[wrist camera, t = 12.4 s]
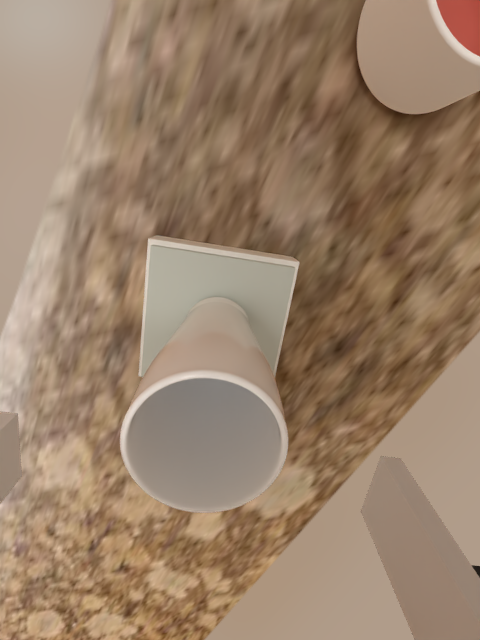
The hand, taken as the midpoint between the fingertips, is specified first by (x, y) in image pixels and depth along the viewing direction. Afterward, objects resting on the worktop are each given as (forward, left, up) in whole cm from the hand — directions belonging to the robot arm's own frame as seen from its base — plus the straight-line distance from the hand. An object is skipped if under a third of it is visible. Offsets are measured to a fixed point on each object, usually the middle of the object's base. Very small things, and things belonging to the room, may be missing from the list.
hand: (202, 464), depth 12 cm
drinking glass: (0, 0, -16) cm, 16 cm away
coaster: (0, 0, -20) cm, 20 cm away
